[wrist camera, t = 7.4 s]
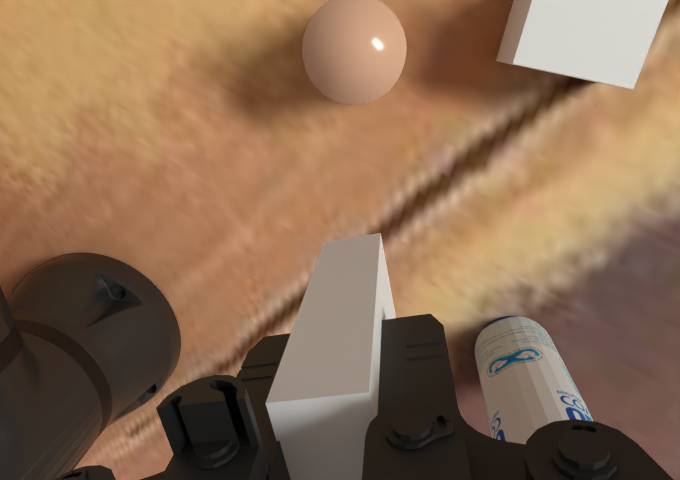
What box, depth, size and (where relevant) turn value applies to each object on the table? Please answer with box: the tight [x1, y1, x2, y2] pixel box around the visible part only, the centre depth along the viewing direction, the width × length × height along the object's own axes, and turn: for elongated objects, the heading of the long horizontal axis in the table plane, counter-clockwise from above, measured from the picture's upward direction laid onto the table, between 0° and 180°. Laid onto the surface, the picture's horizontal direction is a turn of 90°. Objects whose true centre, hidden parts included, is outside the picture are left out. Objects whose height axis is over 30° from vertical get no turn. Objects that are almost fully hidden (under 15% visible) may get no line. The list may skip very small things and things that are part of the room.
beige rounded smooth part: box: [302, 0, 407, 105], centre depth 33 cm, size 6×6×7 cm
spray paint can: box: [475, 316, 593, 444], centre depth 33 cm, size 6×6×20 cm
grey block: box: [496, 0, 668, 89], centre depth 31 cm, size 7×5×6 cm
